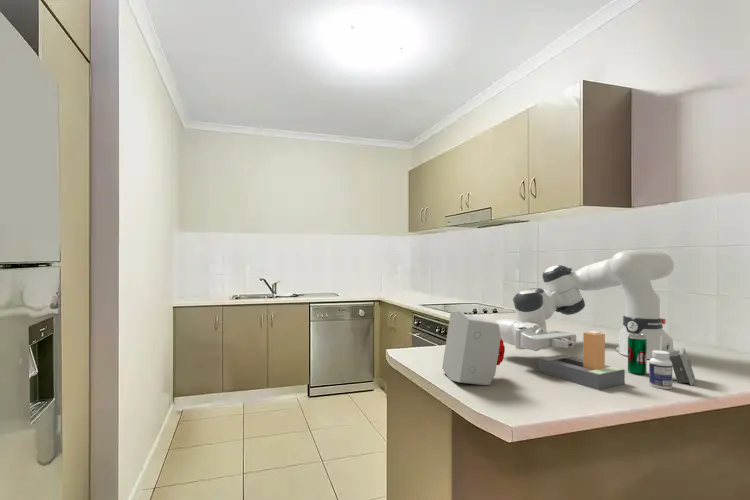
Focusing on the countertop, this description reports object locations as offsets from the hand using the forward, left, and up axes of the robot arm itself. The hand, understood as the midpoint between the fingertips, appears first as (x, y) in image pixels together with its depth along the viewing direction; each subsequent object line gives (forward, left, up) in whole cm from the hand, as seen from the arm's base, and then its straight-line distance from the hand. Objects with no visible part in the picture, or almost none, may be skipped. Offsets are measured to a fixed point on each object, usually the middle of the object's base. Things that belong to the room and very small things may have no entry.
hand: (570, 344), depth 128 cm
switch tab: (-1, +7, -8) cm, 11 cm away
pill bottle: (-14, +19, -9) cm, 25 cm away
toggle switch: (-1, +3, -9) cm, 10 cm away
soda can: (-22, +8, -9) cm, 25 cm away
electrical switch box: (+28, -10, -9) cm, 32 cm away
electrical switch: (-26, +19, -9) cm, 33 cm away
